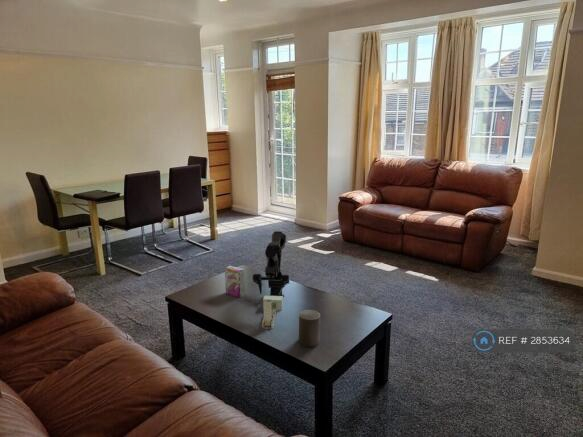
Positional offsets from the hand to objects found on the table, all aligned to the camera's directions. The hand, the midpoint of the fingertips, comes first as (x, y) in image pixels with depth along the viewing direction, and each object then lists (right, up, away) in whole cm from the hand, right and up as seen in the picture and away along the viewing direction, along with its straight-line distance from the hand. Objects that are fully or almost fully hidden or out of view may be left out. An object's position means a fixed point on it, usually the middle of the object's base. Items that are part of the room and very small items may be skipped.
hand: (269, 294), depth 206 cm
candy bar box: (-22, -6, +32) cm, 39 cm away
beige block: (0, -13, 0) cm, 13 cm away
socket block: (+1, -10, +15) cm, 18 cm away
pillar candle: (+19, -19, -18) cm, 32 cm away
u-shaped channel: (0, -14, +1) cm, 14 cm away
